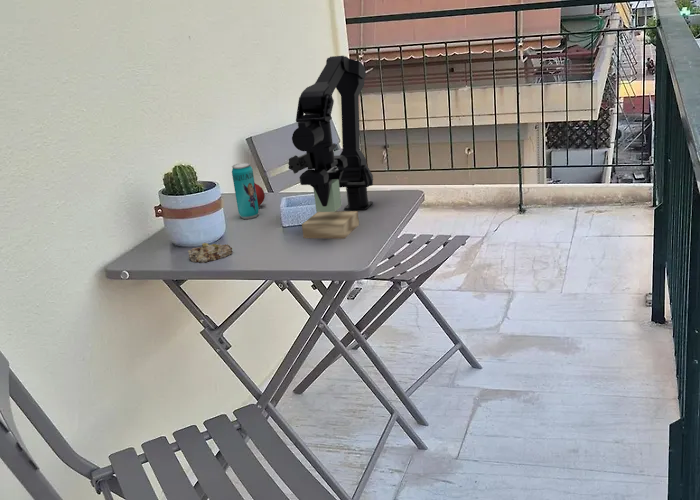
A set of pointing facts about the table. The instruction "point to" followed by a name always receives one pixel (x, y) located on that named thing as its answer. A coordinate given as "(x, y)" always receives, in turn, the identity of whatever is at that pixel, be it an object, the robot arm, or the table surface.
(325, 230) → the oak box
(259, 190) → the onion
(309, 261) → the table surface
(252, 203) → the beverage can
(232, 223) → the table surface
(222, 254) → the mineral rock
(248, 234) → the table surface
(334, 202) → the sage block
